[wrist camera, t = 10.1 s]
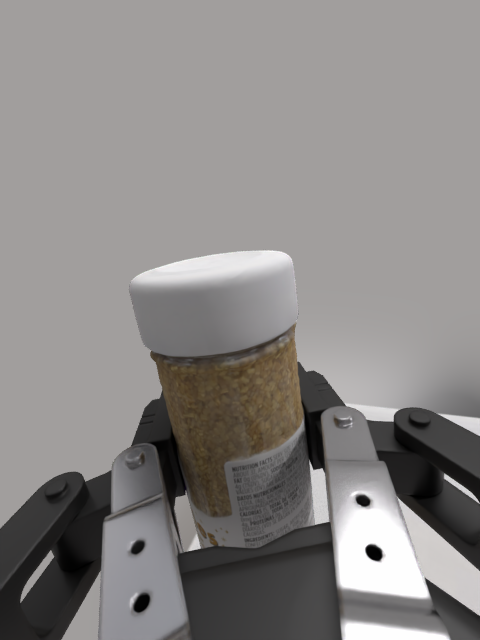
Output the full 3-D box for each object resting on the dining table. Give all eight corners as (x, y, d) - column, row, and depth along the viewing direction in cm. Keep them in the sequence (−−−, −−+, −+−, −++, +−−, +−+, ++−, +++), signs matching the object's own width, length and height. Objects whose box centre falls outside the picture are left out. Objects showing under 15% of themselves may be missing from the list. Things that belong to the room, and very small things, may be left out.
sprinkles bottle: (201, 560, 14) (122, 269, 10) (286, 514, 15) (249, 245, 11) (238, 695, 10) (129, 289, 6) (351, 615, 11) (330, 246, 7)
